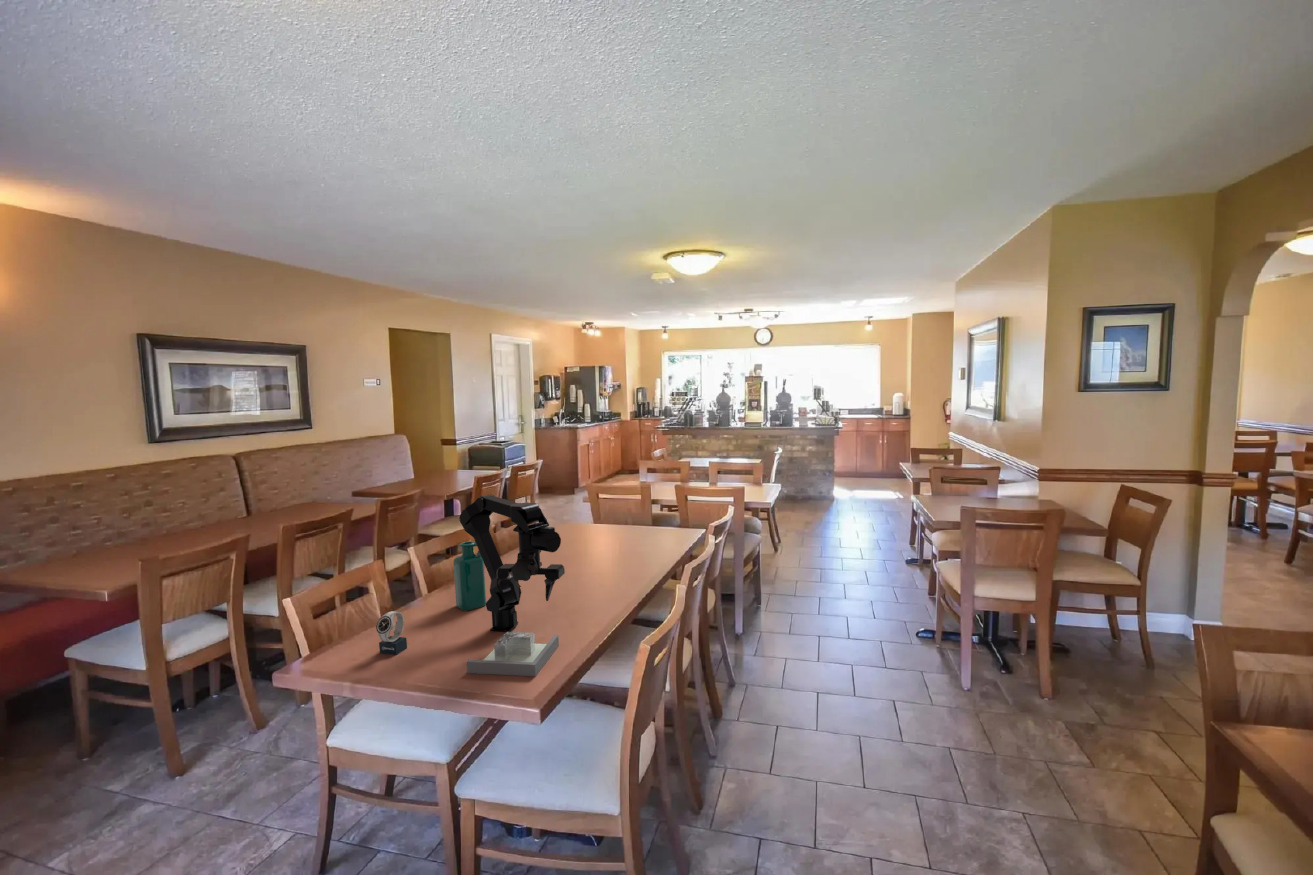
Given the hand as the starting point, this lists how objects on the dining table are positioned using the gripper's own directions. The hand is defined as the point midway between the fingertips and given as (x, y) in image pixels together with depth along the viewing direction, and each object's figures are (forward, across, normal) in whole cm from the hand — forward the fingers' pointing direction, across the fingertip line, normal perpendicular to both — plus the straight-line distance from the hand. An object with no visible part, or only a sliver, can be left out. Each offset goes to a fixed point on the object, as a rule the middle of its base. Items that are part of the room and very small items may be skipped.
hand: (532, 600), depth 164 cm
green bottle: (+11, -31, +23) cm, 40 cm away
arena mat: (+11, 0, -13) cm, 17 cm away
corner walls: (+11, 0, -13) cm, 17 cm away
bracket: (+11, 0, -13) cm, 17 cm away
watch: (+11, -37, -12) cm, 40 cm away
